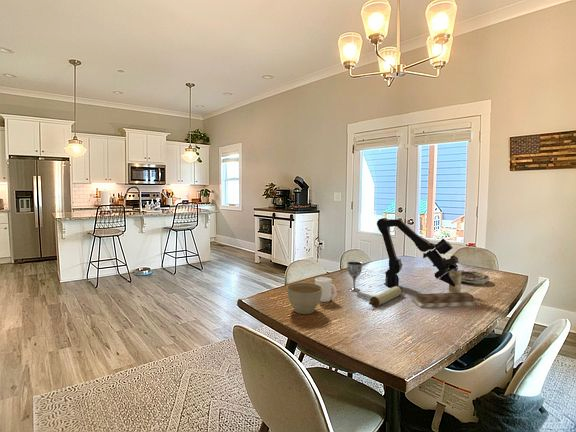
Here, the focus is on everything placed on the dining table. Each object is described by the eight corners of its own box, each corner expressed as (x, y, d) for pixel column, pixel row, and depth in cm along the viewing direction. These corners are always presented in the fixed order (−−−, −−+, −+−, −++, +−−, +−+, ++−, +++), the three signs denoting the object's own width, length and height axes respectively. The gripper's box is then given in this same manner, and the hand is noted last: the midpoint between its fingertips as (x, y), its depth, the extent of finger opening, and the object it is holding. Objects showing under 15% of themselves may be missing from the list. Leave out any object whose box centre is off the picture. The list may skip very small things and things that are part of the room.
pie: (482, 276, 217) (483, 268, 216) (505, 289, 190) (506, 281, 189) (437, 275, 220) (437, 267, 219) (453, 288, 193) (453, 279, 192)
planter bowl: (311, 320, 144) (312, 295, 143) (280, 312, 152) (280, 289, 152) (327, 308, 158) (328, 285, 157) (298, 302, 166) (298, 280, 165)
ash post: (448, 296, 176) (449, 271, 175) (451, 294, 179) (452, 270, 178) (457, 298, 173) (458, 273, 172) (460, 296, 176) (461, 271, 175)
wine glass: (352, 292, 181) (353, 265, 179) (343, 288, 188) (344, 262, 186) (364, 290, 184) (365, 263, 183) (355, 287, 191) (355, 261, 190)
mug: (340, 300, 168) (341, 280, 167) (331, 305, 162) (331, 284, 161) (321, 295, 176) (321, 276, 175) (311, 299, 170) (311, 279, 169)
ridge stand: (420, 307, 159) (420, 298, 159) (411, 301, 168) (411, 292, 168) (479, 305, 162) (480, 296, 162) (467, 299, 171) (468, 291, 171)
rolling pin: (374, 310, 156) (375, 300, 156) (364, 307, 160) (364, 297, 160) (406, 294, 179) (407, 285, 178) (396, 292, 183) (397, 283, 182)
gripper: (441, 253, 170) (464, 279, 163) (454, 248, 183) (476, 272, 176) (425, 266, 176) (446, 291, 169) (439, 260, 189) (459, 283, 183)
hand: (457, 284), depth 174 cm, fingers open, 9 cm apart
